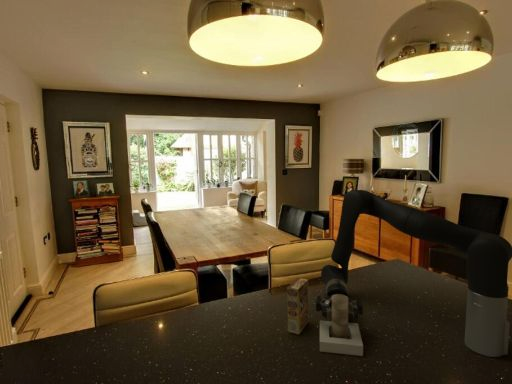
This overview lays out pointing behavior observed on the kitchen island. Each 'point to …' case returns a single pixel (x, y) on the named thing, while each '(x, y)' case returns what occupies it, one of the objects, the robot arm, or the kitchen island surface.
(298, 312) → the candy box
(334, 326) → the peg
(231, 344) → the kitchen island surface
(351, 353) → the socket block
